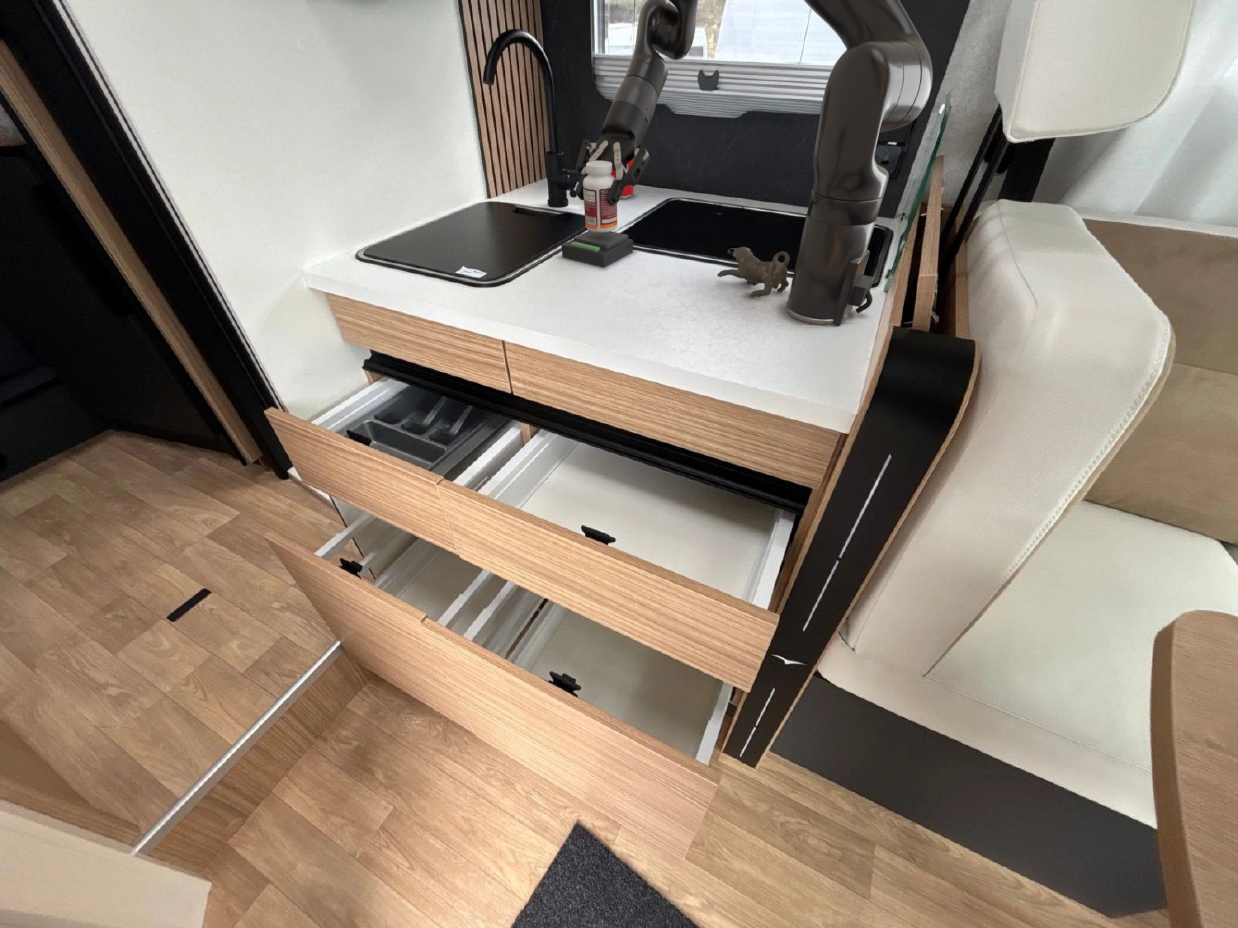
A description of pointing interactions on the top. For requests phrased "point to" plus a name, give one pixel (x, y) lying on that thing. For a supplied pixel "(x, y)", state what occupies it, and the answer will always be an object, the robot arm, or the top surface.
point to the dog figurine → (760, 271)
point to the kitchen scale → (598, 248)
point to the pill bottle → (599, 197)
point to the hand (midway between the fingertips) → (595, 200)
